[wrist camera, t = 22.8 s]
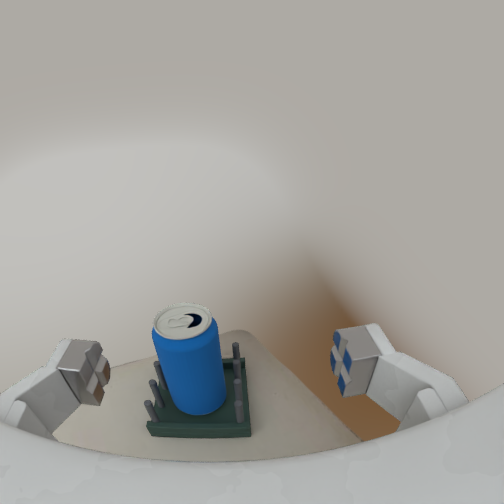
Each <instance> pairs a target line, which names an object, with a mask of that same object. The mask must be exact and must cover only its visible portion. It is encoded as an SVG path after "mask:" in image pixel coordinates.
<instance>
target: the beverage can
mask: <svg viewBox="0 0 504 504" xmlns="http://www.w3.org/2000/svg"><path fill="white" fill-rule="evenodd" d="M153 326H154V327H153V330H152V339H153V342H154V345H155V349H156V352H157V355H158V359H159V362H160V365H161V368H162V371H163V374H164V377H165V380H166V383H167V386H168V389H169V391H170V394H171V397H172V400H173V402H174V404H175V405H176V407H177V408H178V409H180V410H181V411H183V412H185V413H187V414H191V415H204V414H208V413H211V412H213V411H215V410H217V409H218V408H219V407H220V406H221V405H222V404H223V403H224V401H225V399H226V385H225V378H224V372H223V364H222V357H221V350H220V342H219V334H218V327H217V323H216V321H215V320H214V319H213V317H212V315H211V313H210V311H209V310H208V309H207V308H205V307H204V306H202V305H199V304H195V303H180V304H175V305H172V306H169V307H167V308H165V309H163V310H161V311H160V312H159V313H158V314H157V315H156V316H155V318H154V321H153Z"/></svg>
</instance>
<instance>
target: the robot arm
mask: <svg viewBox="0 0 504 504" xmlns="http://www.w3.org/2000/svg"><path fill="white" fill-rule="evenodd" d="M333 341H334V343H335V345H334V346H333V348H332V349H331V355H330V361H331V367H332V371H333V374H334V375H336V376H337V377H339V379H338V383H337V384H338V386H339V389H340V392H341V394H342V397H343V398H345V397H350V396H356V395H361V394H366V395H367V396H368V397H369V398H371V399H372V400H373V401H375V402H376V403H377V404H379V405H380V406H381V407H382V408H384V409H385V410H386V411H388V412H389V413H390V414H391V415H393V416H394V417H395V418H397V419H398V420H399V421H401V423H400V425H399V427H398V429H397V430H396V432H395V433H392V434H390V435H386V436H383V437H379V438H376V439H372V440H369V441H365V442H361V443H357V444H353V445H349V446H345V447H341V448H336V449H331V450H326V451H321V452H316V453H310V454H304V455H297V456H290V457H282V458H274V459H264V460H251V461H232V462H186V461H168V460H156V459H146V458H137V457H130V456H123V455H116V454H111V453H105V452H100V451H95V450H90V449H86V448H81V447H77V446H73V445H69V444H65V443H62V442H58V440H57V439H56V438H55V437H54V436H53V435H52V433H53V432H54V431H55V430H56V429H57V428H58V427H59V426H60V425H61V424H62V423H63V422H64V421H65V420H66V419H67V418H68V417H69V416H70V415H71V414H72V413H73V412H74V411H75V410H76V409H77V408H78V407H79V406H80V405H81V404H87V405H96V406H100V404H101V401H102V399H103V396H104V393H105V392H104V390H103V387H104V386H105V385H107V384H108V382H109V379H110V366H109V363H108V360H107V359H106V358H105V357H104V356H103V355H102V354H101V353H102V351H103V350H102V347H101V345H100V343H99V342H97V341H86V340H72V339H63V340H61V341H60V343H59V344H58V346H57V348H56V349H55V351H54V353H53V354H52V356H51V358H50V359H49V361H48V362H47V364H46V366H45V367H43V366H42V367H40V368H39V369H37V370H36V371H34V372H33V373H31V374H30V375H28V376H27V377H25V378H23V379H22V380H20V381H19V382H17V383H16V384H14V385H13V386H11V387H10V388H8V389H7V390H5V391H3V392H2V393H1V394H0V504H504V383H503V384H502V385H500V386H498V387H497V388H495V389H493V390H491V391H490V392H488V393H486V394H484V395H482V396H480V397H478V398H476V399H475V400H473V401H471V402H469V401H468V399H467V397H466V396H465V394H464V393H463V392H462V390H461V389H460V387H459V386H458V384H457V383H456V381H455V380H454V378H452V377H450V376H448V375H446V374H444V373H442V372H440V371H438V370H436V369H434V368H432V367H430V366H428V365H426V364H424V363H422V362H420V361H418V360H416V359H414V358H412V357H410V356H408V355H406V354H404V353H402V352H396V351H395V349H394V348H393V346H392V345H391V343H390V342H389V340H388V338H387V337H386V335H385V334H384V332H383V331H382V330H381V328H380V327H379V325H378V324H376V323H373V324H368V325H363V326H358V327H351V328H345V329H338V330H335V332H334V335H333Z"/></svg>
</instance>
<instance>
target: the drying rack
mask: <svg viewBox="0 0 504 504" xmlns="http://www.w3.org/2000/svg"><path fill="white" fill-rule="evenodd" d="M232 348H233V358H229V359H222V364H223V372H224V378H225V385H226V399H225V401H224V403H223V404H222V405H221V406H220V407H219V408H218V409H217V410H215V411H213V412H211V413H208V414H204V415H191V414H187V413H185V412H183V411H181V410H180V409H178V408H177V407H176V405H175V404H174V402H173V400H172V397H171V394H170V391H169V389H168V386H167V383H166V380H165V377H164V374H163V371H162V368H161V365H160V362H159V361H155V362H154V367H155V370H156V372H157V375H158V378H159V385H158V386H157V383H156V381H155V380H153V379H152V380H150V381H149V384H150V387H151V389H152V392H153V394H154V396H155V399H156V400H155V405H154V407H153V405H152V403H151V401H150V400H146V401H145V402H144V405H145V407H146V409H147V411H148V413H149V415H150V417H151V419H152V420H151V421H147V425H146V427H147V429H148V430H149V432H150V434H151V436H160V437H178V438H234V437H251V427H250V417H249V405H248V393H247V381H246V369H245V358H240V352H239V344H238V343H237V342H235V343H233V344H232Z"/></svg>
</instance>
